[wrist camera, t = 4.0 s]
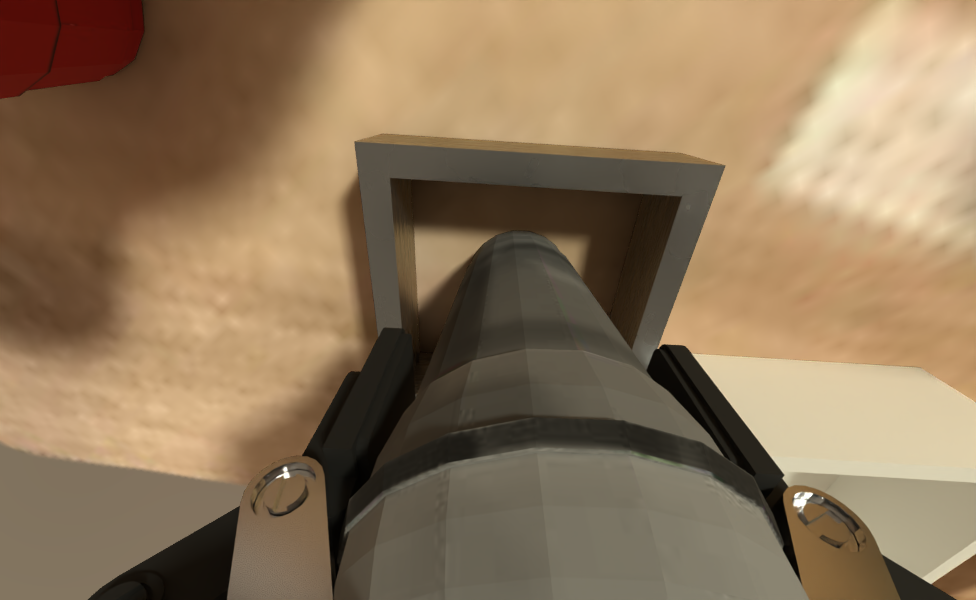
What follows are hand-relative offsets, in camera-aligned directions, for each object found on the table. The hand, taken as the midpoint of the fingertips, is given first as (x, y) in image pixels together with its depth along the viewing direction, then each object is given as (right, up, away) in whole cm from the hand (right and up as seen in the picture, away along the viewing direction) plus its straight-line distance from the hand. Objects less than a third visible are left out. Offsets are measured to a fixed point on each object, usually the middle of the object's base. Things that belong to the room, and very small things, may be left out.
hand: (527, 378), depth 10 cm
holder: (0, +3, +6) cm, 7 cm away
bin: (+14, -7, +11) cm, 19 cm away
